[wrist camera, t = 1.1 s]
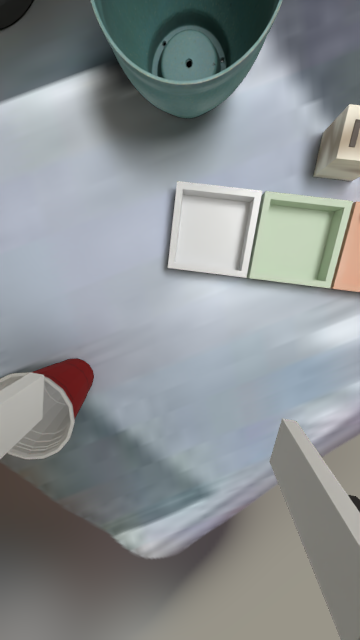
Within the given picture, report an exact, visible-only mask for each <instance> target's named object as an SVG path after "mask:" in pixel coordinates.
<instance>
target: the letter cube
mask: <svg viewBox="0 0 360 640" xmlns="http://www.w3.org/2000/svg"><path fill="white" fill-rule="evenodd" d="M313 177H320V178H329V179H338V180H347V181H353V180H355V179H357V178H358V177H360V105H350V104H349V105H348V106H347V108H346V109H345V110H344V111H343V112H342V113H341V114H340V115H339V116H338V117H337V118H336V119H335V120H334V121H333V123H332V124H331V125H330V126H329V127H328V128H327V129H326V130H325V131H324V132H323V135H322V140H321V144H320V149H319V153H318V157H317V162H316V166H315V171H314V175H313Z"/></svg>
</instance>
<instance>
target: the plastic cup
mask: <svg viewBox="0 0 360 640" xmlns="http://www.w3.org/2000/svg"><path fill="white" fill-rule="evenodd" d="M29 373H37V374H42V375H44V392H43V417H42V420H41V421H40V422H38V423H37V424H36V425H35V426H34V427H33V428H32V429H31V430H30V431H29V432H28V433H27V434H26V435H25V436H24V437H23V438H22V439H21V440H20V441H19V442H18V443H16V444H15V445H14V446H13V447H12V448H11V449H10V450H9V451H8V452H7V453H8V454H10V455H13V456H17V457H20V458H23V459H44V458H46V457H48V456H50V455H52V454H55V453H57V452H59V451H60V450H61V449H62V447H63V446H64V445H65V444H66V443H67V442H68V440H69V439H70V436H71V433H72V429H73V426H74V422H75V417H76V415H77V413H78V411H79V410H80V408H81V406H82V404H83V402H84V400H85V398H86V396H87V393H88V391H89V389H90V387H91V386H92V382H93V378H94V375H93V370H92V369H91V367H90V365H89V364H87V363H86V362H85V361H83V360H80V359H68V360H65V361H63V362H60V363H56V364H53V365H51V366H48V367H45V368H42V369H40V370H37V371H34V372H28V373H13V374H9V375H7V376H5V377H3V378H1V379H0V391H1V390H2V389H4V388H6V387H7V386H9V385H11V384H12V383H14V382H16V381H17V380H19V379H21V378H22V377H24V376H26V375H27V374H29Z"/></svg>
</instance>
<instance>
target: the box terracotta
mask: <svg viewBox="0 0 360 640" xmlns="http://www.w3.org/2000/svg"><path fill="white" fill-rule="evenodd" d="M330 288H331V289H339V290H347V291H355V292H360V202H354V203H353V204H352V207H351V211H350V215H349V219H348V222H347V226H346V230H345V234H344V238H343V241H342V245H341V249H340V253H339V256H338V260H337V264H336V268H335V272H334V275H333V279H332V283H331V287H330Z"/></svg>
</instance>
